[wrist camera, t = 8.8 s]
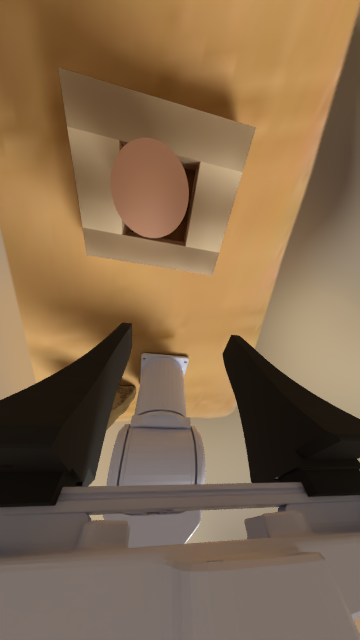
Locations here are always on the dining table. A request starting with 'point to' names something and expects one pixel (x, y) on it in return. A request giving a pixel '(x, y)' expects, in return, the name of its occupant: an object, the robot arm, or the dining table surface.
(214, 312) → the dining table surface
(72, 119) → the socket block
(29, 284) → the dining table surface
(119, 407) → the rock
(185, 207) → the peg
